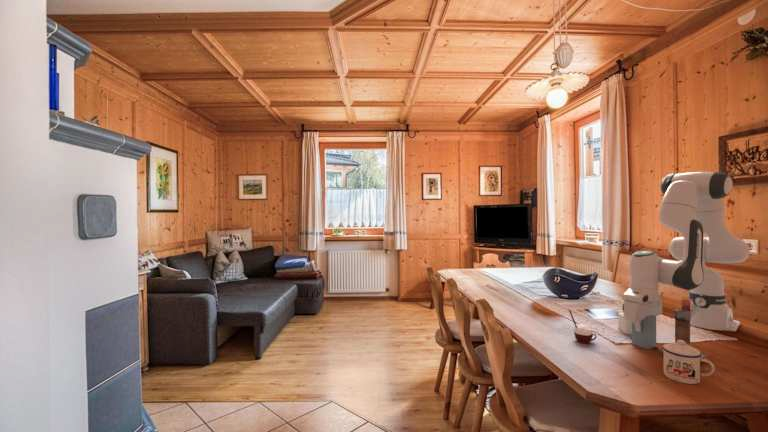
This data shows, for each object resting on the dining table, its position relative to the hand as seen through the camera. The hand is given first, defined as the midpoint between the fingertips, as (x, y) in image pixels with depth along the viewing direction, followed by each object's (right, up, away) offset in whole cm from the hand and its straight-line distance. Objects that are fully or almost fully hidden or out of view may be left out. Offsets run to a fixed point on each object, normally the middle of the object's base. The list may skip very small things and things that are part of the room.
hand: (643, 329), depth 131 cm
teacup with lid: (-6, -7, -25) cm, 27 cm away
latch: (+11, +7, -7) cm, 15 cm away
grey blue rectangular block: (0, -6, 0) cm, 6 cm away
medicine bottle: (+5, -6, +14) cm, 16 cm away
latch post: (+6, -6, -11) cm, 13 cm away
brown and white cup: (-21, -7, +5) cm, 22 cm away
